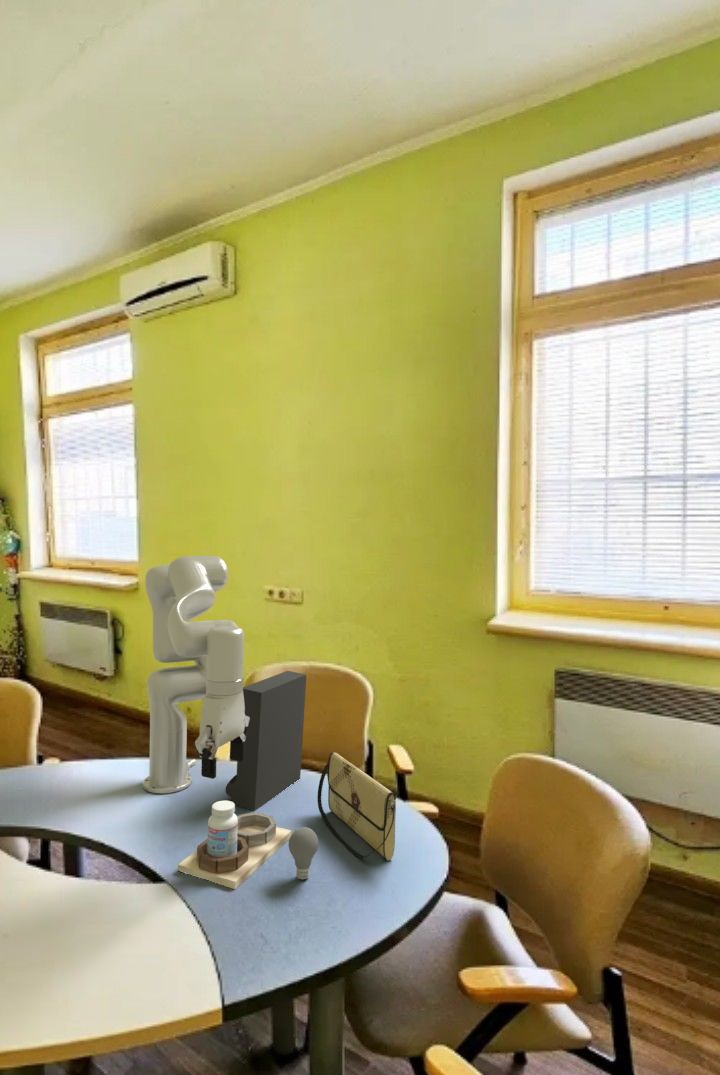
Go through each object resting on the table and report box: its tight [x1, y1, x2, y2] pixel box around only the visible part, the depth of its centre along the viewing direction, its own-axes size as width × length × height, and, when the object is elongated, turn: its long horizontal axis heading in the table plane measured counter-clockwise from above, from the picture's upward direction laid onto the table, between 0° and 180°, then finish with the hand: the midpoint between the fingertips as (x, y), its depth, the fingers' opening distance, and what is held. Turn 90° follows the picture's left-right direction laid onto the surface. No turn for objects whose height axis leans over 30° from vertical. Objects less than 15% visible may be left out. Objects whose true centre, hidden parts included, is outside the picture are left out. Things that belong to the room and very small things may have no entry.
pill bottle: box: [207, 800, 238, 859], centre depth 126 cm, size 6×6×11 cm
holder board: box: [177, 812, 292, 890], centre depth 131 cm, size 22×14×4 cm, turn 157°
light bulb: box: [288, 826, 319, 880], centre depth 123 cm, size 6×6×10 cm
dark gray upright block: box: [224, 670, 307, 812], centre depth 162 cm, size 21×11×30 cm, turn 154°
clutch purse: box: [316, 751, 397, 862], centre depth 139 cm, size 30×7×15 cm, turn 31°
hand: (223, 768), depth 126 cm, fingers open, 9 cm apart
